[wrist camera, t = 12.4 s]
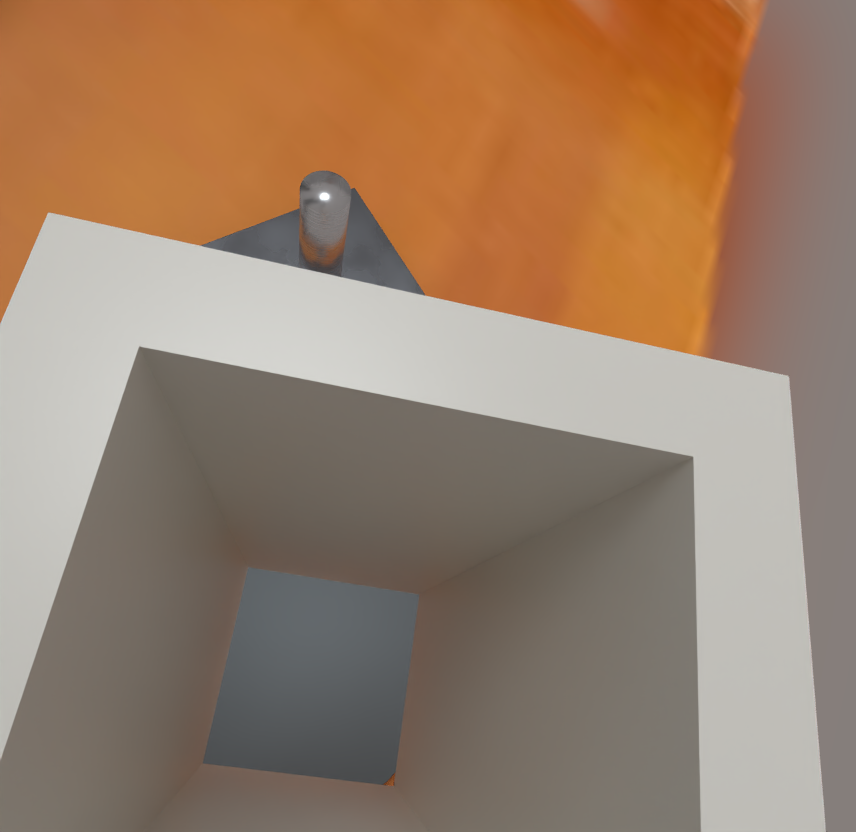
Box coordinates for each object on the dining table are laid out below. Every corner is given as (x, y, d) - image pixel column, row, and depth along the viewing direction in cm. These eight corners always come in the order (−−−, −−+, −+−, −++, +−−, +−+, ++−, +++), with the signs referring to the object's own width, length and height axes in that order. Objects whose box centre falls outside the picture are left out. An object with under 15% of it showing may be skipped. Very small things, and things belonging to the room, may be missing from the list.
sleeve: (427, 837, 12) (875, 1430, 3) (147, 806, 11) (-483, 1452, 2) (458, 564, 14) (788, 376, 5) (219, 523, 13) (47, 211, 4)
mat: (240, 887, 26) (239, 892, 25) (110, 617, 28) (106, 616, 28) (483, 706, 30) (487, 707, 29) (352, 483, 32) (353, 480, 32)
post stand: (276, 434, 32) (270, 345, 23) (185, 275, 34) (146, 134, 25) (443, 351, 36) (495, 245, 26) (351, 210, 38) (370, 66, 28)
